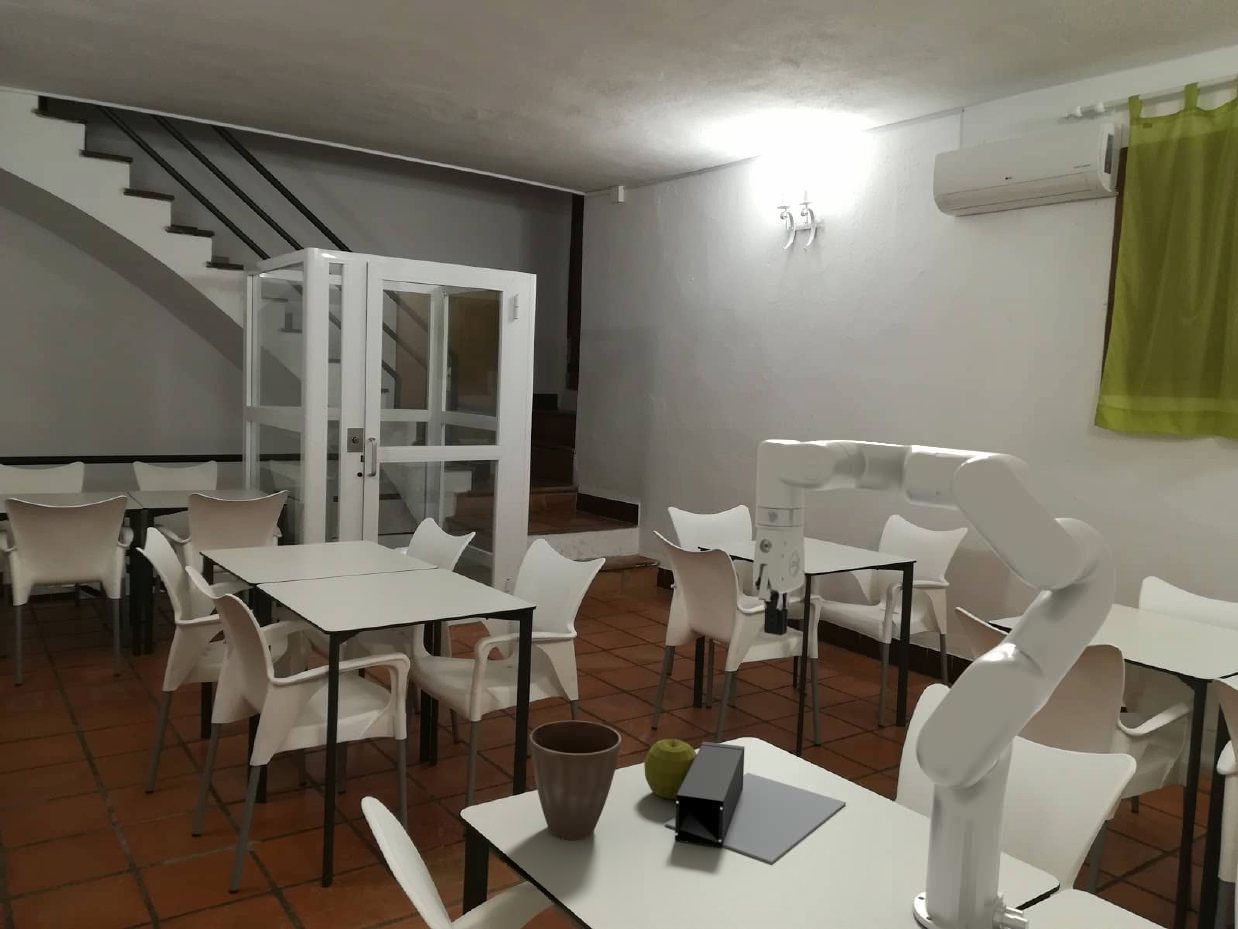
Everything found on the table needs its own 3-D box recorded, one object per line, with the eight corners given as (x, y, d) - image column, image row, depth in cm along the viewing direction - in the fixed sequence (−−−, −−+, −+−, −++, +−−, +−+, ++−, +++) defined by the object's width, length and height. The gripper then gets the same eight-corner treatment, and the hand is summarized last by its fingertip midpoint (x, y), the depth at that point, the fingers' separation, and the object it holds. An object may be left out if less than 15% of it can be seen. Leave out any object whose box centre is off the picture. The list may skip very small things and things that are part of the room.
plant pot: (635, 836, 158) (639, 741, 157) (560, 861, 149) (564, 760, 147) (581, 803, 170) (585, 715, 168) (509, 824, 160) (512, 730, 159)
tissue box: (723, 801, 154) (747, 740, 181) (675, 794, 156) (705, 735, 183) (721, 848, 154) (745, 781, 181) (673, 841, 156) (704, 775, 183)
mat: (845, 804, 174) (845, 802, 174) (771, 864, 151) (771, 861, 150) (747, 774, 186) (747, 772, 186) (664, 825, 162) (665, 823, 162)
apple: (636, 801, 171) (639, 741, 171) (650, 781, 181) (653, 724, 180) (691, 811, 169) (694, 750, 168) (703, 789, 178) (706, 731, 177)
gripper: (781, 524, 143) (777, 646, 144) (820, 516, 156) (816, 628, 157) (736, 520, 148) (732, 638, 149) (777, 512, 160) (773, 621, 161)
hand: (775, 633), depth 153 cm, fingers closed
